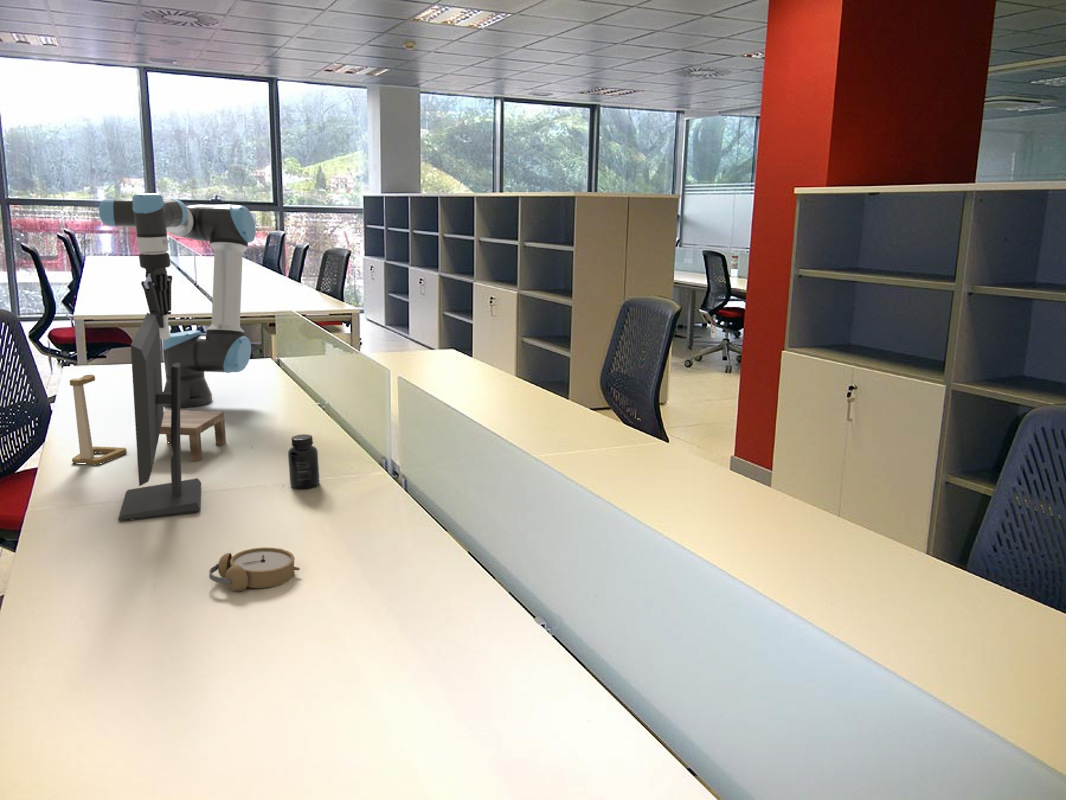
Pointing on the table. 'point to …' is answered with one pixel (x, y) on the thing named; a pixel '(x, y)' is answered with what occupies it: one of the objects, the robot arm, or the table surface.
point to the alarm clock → (255, 568)
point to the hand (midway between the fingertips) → (163, 338)
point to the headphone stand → (88, 428)
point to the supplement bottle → (303, 462)
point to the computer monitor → (156, 432)
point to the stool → (196, 428)
